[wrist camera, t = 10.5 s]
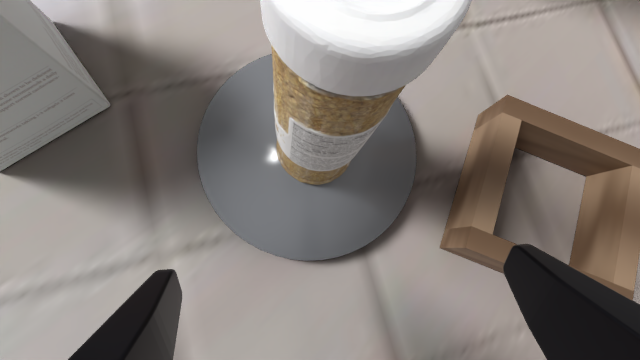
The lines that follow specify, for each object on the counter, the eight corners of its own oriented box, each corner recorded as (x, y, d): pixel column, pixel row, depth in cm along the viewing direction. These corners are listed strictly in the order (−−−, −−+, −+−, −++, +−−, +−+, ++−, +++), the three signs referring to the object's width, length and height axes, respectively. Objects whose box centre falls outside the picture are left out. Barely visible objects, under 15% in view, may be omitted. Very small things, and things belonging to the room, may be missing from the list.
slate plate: (304, 309, 19) (305, 312, 18) (155, 145, 20) (148, 139, 19) (450, 159, 21) (458, 155, 20) (312, 22, 22) (314, 12, 21)
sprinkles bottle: (287, 104, 20) (290, -175, 7) (359, 124, 20) (499, -108, 7) (266, 176, 19) (222, 9, 6) (343, 196, 19) (468, 80, 6)
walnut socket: (580, 304, 20) (630, 313, 17) (439, 247, 20) (465, 247, 17) (605, 167, 22) (653, 154, 19) (478, 115, 22) (507, 94, 19)
